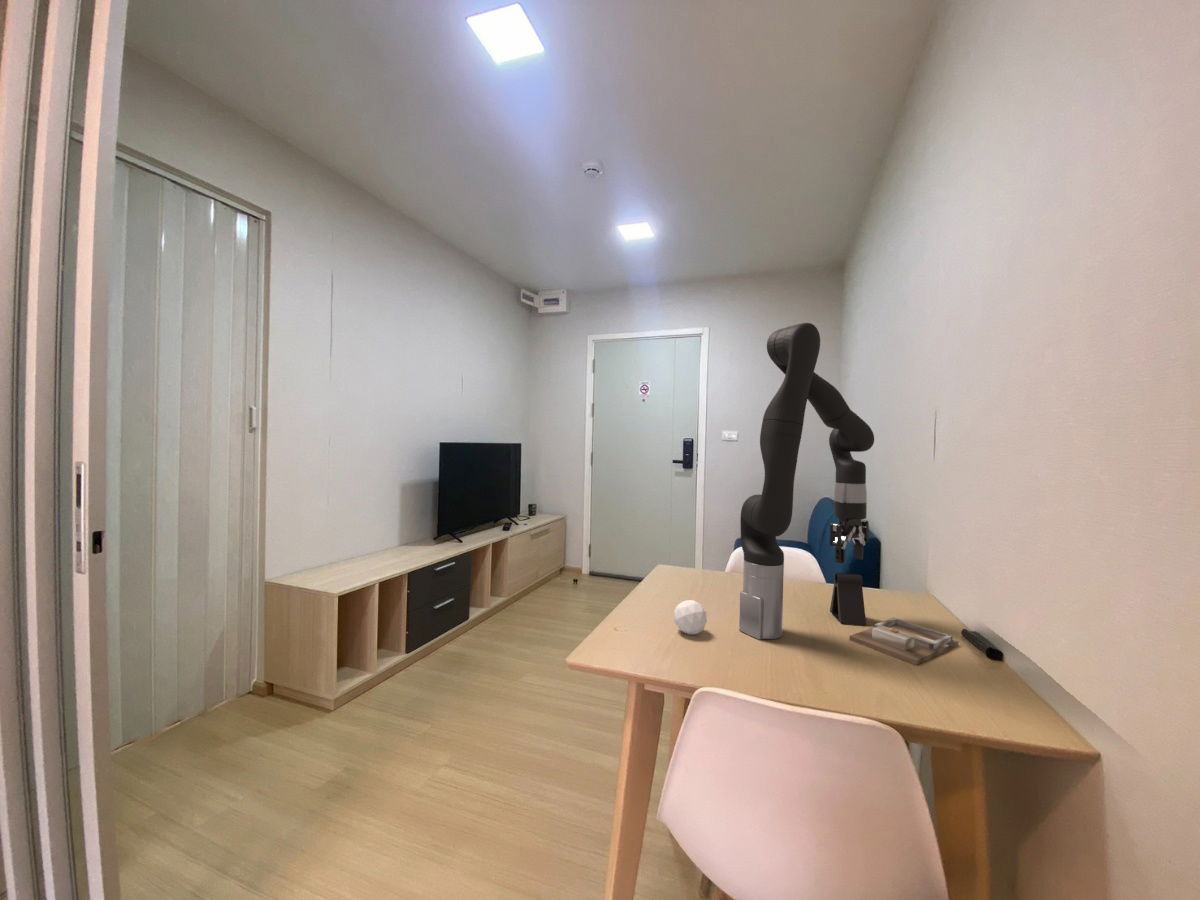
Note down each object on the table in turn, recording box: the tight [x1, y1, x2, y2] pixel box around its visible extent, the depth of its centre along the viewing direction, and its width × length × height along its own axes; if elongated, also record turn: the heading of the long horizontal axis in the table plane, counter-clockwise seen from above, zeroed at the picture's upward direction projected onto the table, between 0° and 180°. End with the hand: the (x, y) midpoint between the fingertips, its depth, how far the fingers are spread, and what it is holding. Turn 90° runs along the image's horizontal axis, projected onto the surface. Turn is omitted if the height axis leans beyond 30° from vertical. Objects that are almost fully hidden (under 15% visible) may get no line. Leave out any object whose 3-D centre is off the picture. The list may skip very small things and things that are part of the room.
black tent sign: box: [829, 572, 867, 626], centre depth 118 cm, size 9×6×12 cm, turn 169°
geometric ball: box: [673, 599, 708, 635], centre depth 107 cm, size 8×8×8 cm
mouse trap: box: [849, 617, 959, 666], centre depth 104 cm, size 20×14×4 cm
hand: (849, 560), depth 118 cm, fingers open, 8 cm apart
